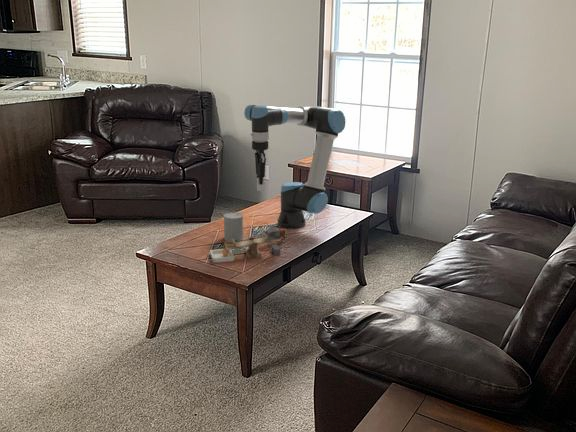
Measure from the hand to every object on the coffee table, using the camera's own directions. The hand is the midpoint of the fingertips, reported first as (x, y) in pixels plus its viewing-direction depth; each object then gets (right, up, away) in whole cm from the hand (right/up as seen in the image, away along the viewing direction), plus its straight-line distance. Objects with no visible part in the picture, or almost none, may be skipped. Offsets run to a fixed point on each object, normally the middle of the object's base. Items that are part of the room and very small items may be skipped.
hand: (260, 190), depth 273 cm
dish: (-18, -31, -1) cm, 36 cm away
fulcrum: (-4, -30, +3) cm, 30 cm away
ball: (-16, -29, -1) cm, 33 cm away
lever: (-3, -24, +1) cm, 25 cm away
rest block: (+7, -29, +6) cm, 31 cm away
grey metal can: (-15, -24, +23) cm, 36 cm away
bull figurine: (+6, -26, +17) cm, 31 cm away
